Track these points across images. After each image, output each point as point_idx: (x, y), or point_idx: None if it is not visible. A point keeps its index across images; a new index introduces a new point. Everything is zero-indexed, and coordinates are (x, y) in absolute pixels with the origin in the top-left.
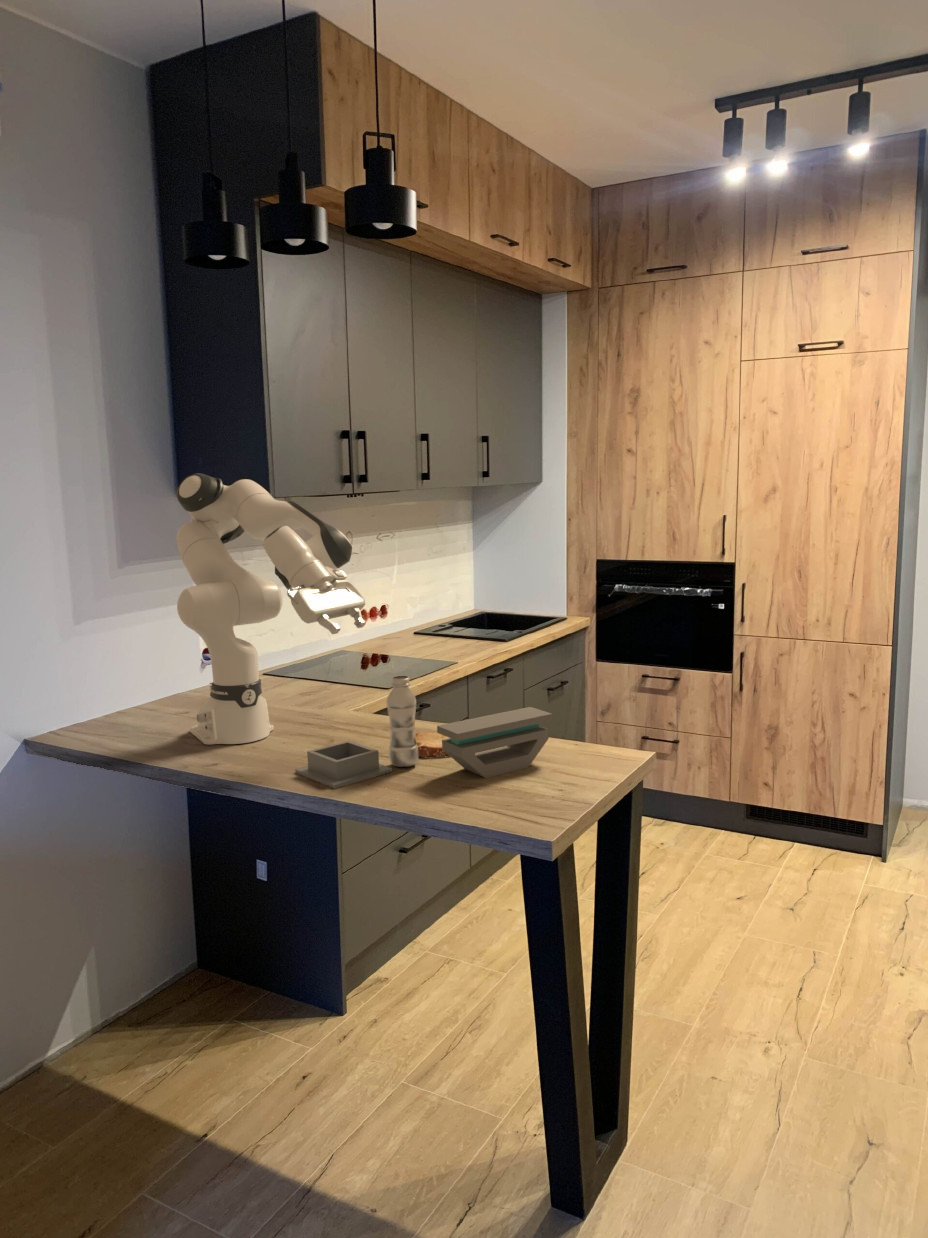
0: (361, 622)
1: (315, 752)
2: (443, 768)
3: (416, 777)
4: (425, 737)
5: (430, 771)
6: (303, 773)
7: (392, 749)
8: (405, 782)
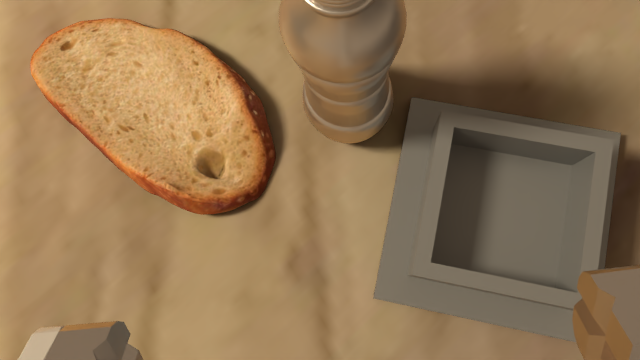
0: (108, 328)
1: None
2: None
3: (408, 18)
4: (160, 165)
5: None
6: None
7: (391, 96)
8: (456, 16)
